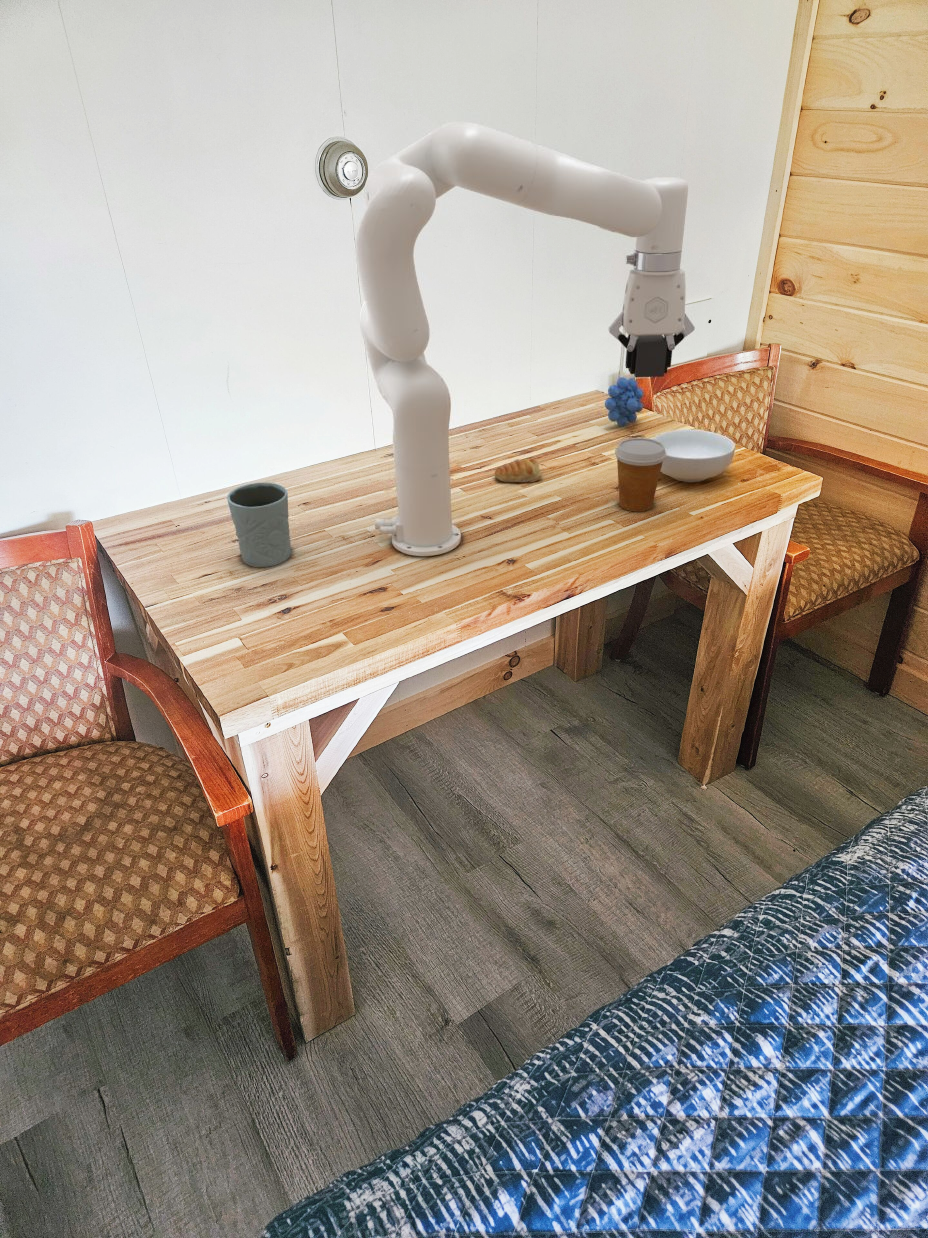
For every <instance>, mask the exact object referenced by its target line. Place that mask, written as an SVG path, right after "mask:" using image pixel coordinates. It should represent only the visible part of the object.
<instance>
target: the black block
mask: <svg viewBox="0 0 928 1238" xmlns="http://www.w3.org/2000/svg"><path fill="white" fill-rule="evenodd" d="M635 351H636V363H635V373H634V374H633V375H634V377H635V378H662V377H664V376H665V373H664V370H665V360H666V351H667V341H666V340H665V338H664V335H639V336H638V339H637V342H636V344H635ZM664 378H665V377H664Z"/></svg>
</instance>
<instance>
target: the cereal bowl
mask: <svg viewBox="0 0 928 1238" xmlns="http://www.w3.org/2000/svg"><path fill="white" fill-rule="evenodd" d="M651 439H653V440H656V441H659V442H661V443H662V444H663V445H664V447H665V451H666V453H667V454H666V457H665V458H664V460H663V463H662V467H661V471H660V473H662V474H664V475H666V476H668V477H670V478H672V480H675V481H679V482H682V483H699V482H703V481H705V480H707V479H711V478H714V477H716V476H719V475H720V474H722V473H724V472H725V471H726V470H727V469H728V468H729V467H730V465H731V464H732V462H733V459H734V455H735V451H736V445H735V442H734V441H733V440H732V439H730V438H729V437H727V436H725V435H722V434H720V433H718V432H717V433H716V432H714V431H709V430H702V429H674V430H668V431H665V432H662V433H658V434H657V435H654V436H653V437H652V438H651Z"/></svg>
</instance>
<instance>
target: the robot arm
mask: <svg viewBox="0 0 928 1238" xmlns="http://www.w3.org/2000/svg"><path fill="white" fill-rule="evenodd" d="M455 187H459V188H462V189H464V190H468V191H470V192H474V193H477V194H480V195H484V196H487V197H490V198H492V199H497V200H500V201H503V202H506V203H509V204H512V205H515V206H519V207H522V208H525V209H526V210H527V209H528V210H530V211H535V212H538V213H541V214H545V215H549V216H554V217H559V218H560V217H562V218H566V219H571V220H575V221H579V222H583V223H586V224H589V225H592V226H595V227H598V228H599V229H601V230H605V231H607V232H611V233H616V234H620V235H623V236H626V237H629V238H635V249H634V250H633V253H632V254H629V255H628V254H626V256H625V264H626V265H630V266H632V267H633V268H632V269H630V270H629V272H628V273H629V274H628V276H627V281H626V287H625V291H624V297H623V304H622V311H621V312H620V313H619V315H618V316H617V317H616V318H615V319H614V321H612V323H611V325H610V326H608V328H607V330H608V333H609V334H610V335H612V337H614V339H616V340H617V341H619V343H620V344H621V345H622V346H623V347H624V348H625V349H626V351H625V369H628V372H629V374H630V375H634V373H635V363H636V351H635V344H636V342H637V339H638V336H639V335H663V337H664V338H665V340H666V341H667V351H666V360H665V370H664V374H668V368H671V366H672V357H673V351H674V350H675V348H676V347H677V346H678V345H679V344H680V343H681V342H682V341H683V340H684V339H685V338H686V337H688V336H689V335H690V334H691V333H693V332H694V331H695V326H694V324H693V322H692V321H691V320H690V318H689V317H688V315H687V314H686V293H687V292H686V290H687V289H686V273H685V270H683V269H681V262H682V252H683V243H684V233H685V226H686V225H685V224H686V215H687V214H686V213H687V203H688V195H689V186H688V182H687V181H686V180H685V179H684V178H681V177H675V176H674V177H673V176H659V177H652V178H647V179H644V180H643V179H637V178H633V177H630V176H628V175H625V174H622V173H618V172H617V171H614V170H610V169H608V168H604V167H601V166H598V165H595V164H592V163H589V162H586V161H584V160H581V159H579V158H576V157H574V156H572V155H569V154H568V153H567V154H566V153H564V152H562V151H559V150H555V149H552V148H550V147H547V146H544V145H540V144H537V143H535V142H533V141H529V140H527V139H524V138H521V137H517V136H515V135H512V134H510V133H506V132H504V131H501V130H498V129H495V128H492V127H490V126H487V125H484V124H481V123H477V122H470V121H450V122H446V123H445V124H442V125H440V126H439V127H437V128H435V129H434V130H432V131H430V132H429V133H427V134H426V135H424V136H423V137H421V138H419V139H418V140H416V141H414V142H412V143H411V144H409V145H408V146H406V147H404V148H403V149H401V150H399V151H397V152H396V153H395V154H393V155H391V156H389V157H388V158H386V159H384V160H383V161H382V162H380V163H379V164H377V165H376V166H375V167H374V168H373V169H372V170H371V171H370V173H369V175H368V176H367V178H366V181H365V184H364V199H365V203H366V206H367V207H366V209H365V210H364V212H363V214H362V217H361V219H360V222H359V225H358V228H357V232H356V238H355V247H354V248H355V249H354V250H355V262H356V267H357V271H358V277H359V280H360V284H361V285H360V286H361V289H362V293H363V298H364V301H363V303H362V306H361V308H360V311H359V327H360V328H359V329H360V332H361V337H362V340H363V343H364V347H365V350H366V354H367V357H368V361H369V364H370V367H371V371H372V374H373V377H374V380H375V384H376V387H377V389H378V392H379V393H380V396H381V397H382V398H383V400H384V402H386V404H387V405H388V407H389V408H390V410H391V412H392V420H393V421H392V422H393V428H392V453H393V464H394V474H395V487H396V498H397V500H396V501H397V516H392V517H391V518H375V519H374V529H375V530H379V533H380V535H388V534H389V535H390V534H391V544H392V546H393V547H394V548H395V550H397V551H398V552H401V553H403V554H406V555H409V556H415V557H432V556H433V557H434V556H437V555H438V556H439V555H443V554H445V553H448V552H451V551H452V550H454V549H455V548H457V547H458V546H459V545H460V543H461V540H462V532H461V530H460V529H459V528H458V526H456V525H454V524H453V519H452V518H453V517H452V516H453V515H452V513H453V512H452V491H451V490H452V489H451V488H452V487H451V466H450V465H451V462H450V461H451V460H450V439H449V438H450V437H449V436H450V420H451V410H452V401H451V400H452V399H451V393H450V391H449V388H448V385H447V383H446V382H445V380H444V377H442V376H441V375H440V374H439V372H438V371H436V370H435V368H433V367H432V366H431V365H430V364H428V362H427V359H426V356H425V351H426V349H427V347H428V344H429V341H430V324H429V319H428V316H427V313H426V310H425V306H424V303H423V299H422V294H421V290H420V286H419V282H418V277H417V272H416V265H415V258H414V251H415V245H416V242H417V239H418V237H419V235H420V233H421V232H422V230H423V229H424V227H425V226H427V224H428V223H429V222H430V220H431V218H432V216H433V215H434V212H435V209H436V203H437V199H438V198H440V197H441V196H443V195H444V194H447V193H448V192H449V191H451V190H452V189H454V188H455ZM621 327H622V328H623V330H624V332H625V333H626V334H627V336H626V335H625V333H623V332H622V331H621V330H620V328H621Z"/></svg>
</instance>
